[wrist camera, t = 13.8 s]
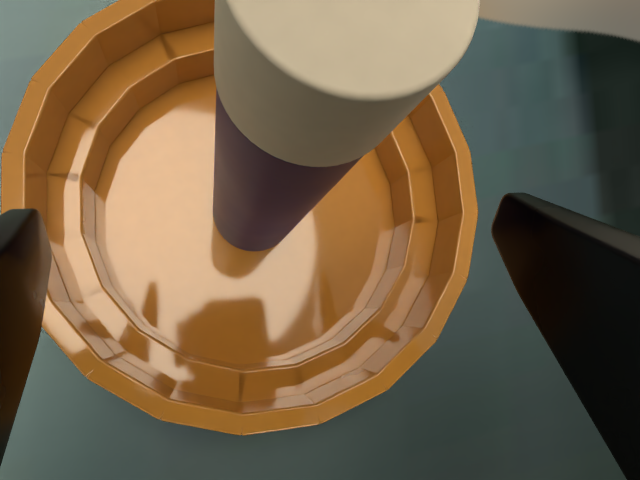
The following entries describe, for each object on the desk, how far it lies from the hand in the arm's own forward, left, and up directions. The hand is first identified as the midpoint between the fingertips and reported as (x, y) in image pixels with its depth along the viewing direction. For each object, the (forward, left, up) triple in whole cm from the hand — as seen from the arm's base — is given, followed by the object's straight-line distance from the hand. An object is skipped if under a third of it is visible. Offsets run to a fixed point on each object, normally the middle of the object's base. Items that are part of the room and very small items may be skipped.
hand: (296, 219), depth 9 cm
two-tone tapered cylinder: (+2, 0, -9) cm, 9 cm away
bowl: (+2, 0, -9) cm, 9 cm away
